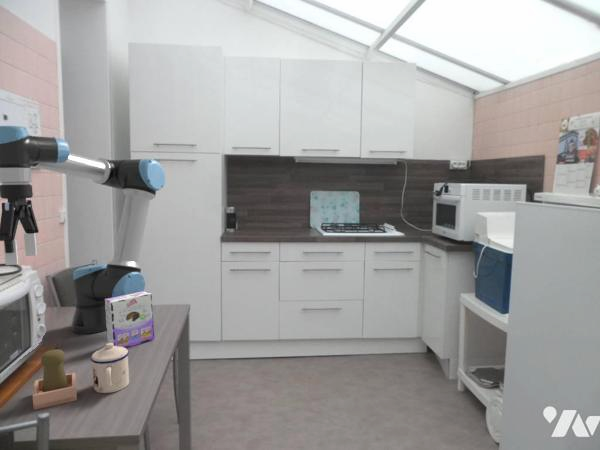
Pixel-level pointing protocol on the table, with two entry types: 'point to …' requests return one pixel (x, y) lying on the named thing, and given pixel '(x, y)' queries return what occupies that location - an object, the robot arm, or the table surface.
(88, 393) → the table surface
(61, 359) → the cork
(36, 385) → the tray
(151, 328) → the candy box
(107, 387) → the teacup with lid
